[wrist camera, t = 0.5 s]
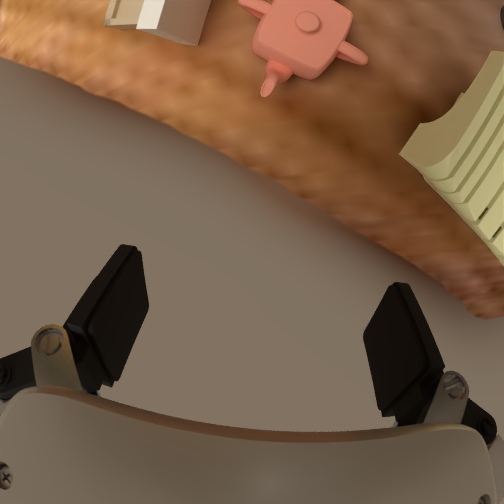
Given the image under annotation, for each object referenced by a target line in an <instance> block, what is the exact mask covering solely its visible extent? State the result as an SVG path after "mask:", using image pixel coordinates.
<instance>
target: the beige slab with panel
mask: <svg viewBox="0 0 504 504" xmlns="http://www.w3.org/2000/svg"><path fill="white" fill-rule="evenodd" d="M210 3H211V0H110V3H109V7H108V10H107V13H106V17H105V21H104V24H103V26H106V27H111V28H116V29H120V30H132V29H138V30H142V31H145V32H148V33H151V34H155V35H158V36H161V37H163V38H166V39H169V40H172V41H175V42H178V43H180V44H183V45H191V46H198V43H199V40H200V36H201V33H202V29H203V26H204V22H205V19H206V16H207V13H208V9H209V6H210Z"/></svg>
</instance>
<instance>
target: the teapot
mask: <svg viewBox="0 0 504 504" xmlns="http://www.w3.org/2000/svg"><path fill="white" fill-rule="evenodd" d="M238 3H239V5H240V6H241V7H243V8H244V9H245V10H247V11H248V12H250V13H251V14H253V15H254V16H256V17H257V18H259V19H261V20H260V22H259V24H258V26H257V29H256V31H255V34H254V37H253V40H252V46H251V47H252V51H253V53H255V54H256V55H257V56H259V57H261V58H263V59H265V60H266V61H268V62H267V65H266V68H265V74H266V79H265V81H264V83H263V85H262V87H261V91H260V94H261V96H262V97H266V96H268V95H269V94H270V93H271V92H272V91H273V90H274V88H275V87H276V85H277V84H278V83H281V82H285V81H286V80H287V79H289V78H290V77H291V75H292V74H295V75H298V76H300V77H302V78H304V79H308V80H312V79H315V78H317V77H318V76H319V75H320V74H321V73H322V72H323V71H324V70H325V69H326V68H327V67H328V66H329V65H330V63H331V62H332V61H333V60H334V58H335V57H338V58H340V59H343V60H346V61H348V62H351V63H354V64H358V65H365V64H367V63H368V57H367V55H366V54H365V53H364V52H362V51H361V50H359V49H358V48H356V47H355V46H353V45H351V44H350V43H348V42H346V41H345V40H346V37H347V35H348V32H349V30H350V27H351V24H352V18H353V15H352V12H351V11H350V10H348V9H347V8H345V7H344V6H342V5H341V4H339V3H337V2H335V1H334V0H274V1H273V2H272V3H271V4H270V3H268V2H265V1H263V0H238Z"/></svg>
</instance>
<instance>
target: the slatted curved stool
mask: <svg viewBox="0 0 504 504" xmlns="http://www.w3.org/2000/svg"><path fill="white" fill-rule="evenodd" d="M399 155H400V156H401V157H403V158H404V159H405V160H406V161H407V162H409V163H410V164H411V165H412V166H413V167H415V168H416V169H417V170H419V172H420V173H421V174H422V175H423V178H424V180H425V181H426V182H427V183H428V184H429V185H430V186H431V187H432V188H433V189H434V190H435V191H436V192H437V193H438V194H439V195H440V196H441V197H442V198H443V199H444V200H445V201H446V202H447V203H448V204H449V205H450V206H451V207H452V208H453V209H454V210H455V211H456V212H457V213H458V215H459V216H460V217H461V218H462V219H463V220H464V221H465V222H466V223H467V224H468V225H469V226H470V227H471V228H472V229H473V230H474V232H475V233H476V234H477V235H478V236H479V237H480V238H481V239H482V240H483V241H484V242H485V244H486V245H487V246H488V247H489V248H490V250H491V251H492V252H493V253H494V255H495V256H496V257H497V258H498V259H499V261H500V262H501V264H502V265H503V266H504V51H491V52H490V54H489V56H488V58H487V59H486V61H485V63H484V65H483V66H482V68H481V70H480V71H479V73H478V75H477V76H476V78H475V79H474V81H473V82H472V84H471V85H470V87H469V88H468V89H467V91H466V92H465V93H463V92H461V94H460V96H459V97H458V99H457V100H456V102H455V104H454V105H453V107H452V108H451V109H450V110H449V111H448V112H447V113H446V114H445V115H443V116H442V117H440V118H439V119H437V120H435V121H432V122H428V123H420V124H419V126H418V127H417V129H416V130H415V131H414V133H413V134H412V136H411V137H410V139H409V140H408V142H407V143H406V145H405V146H404V147H403V149H402V150H401V152H400V153H399Z"/></svg>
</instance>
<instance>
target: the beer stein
mask: <svg viewBox="0 0 504 504" xmlns="http://www.w3.org/2000/svg"><path fill="white" fill-rule="evenodd" d="M501 20H502V24H503V28H504V6H503V8H502V10H501Z"/></svg>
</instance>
